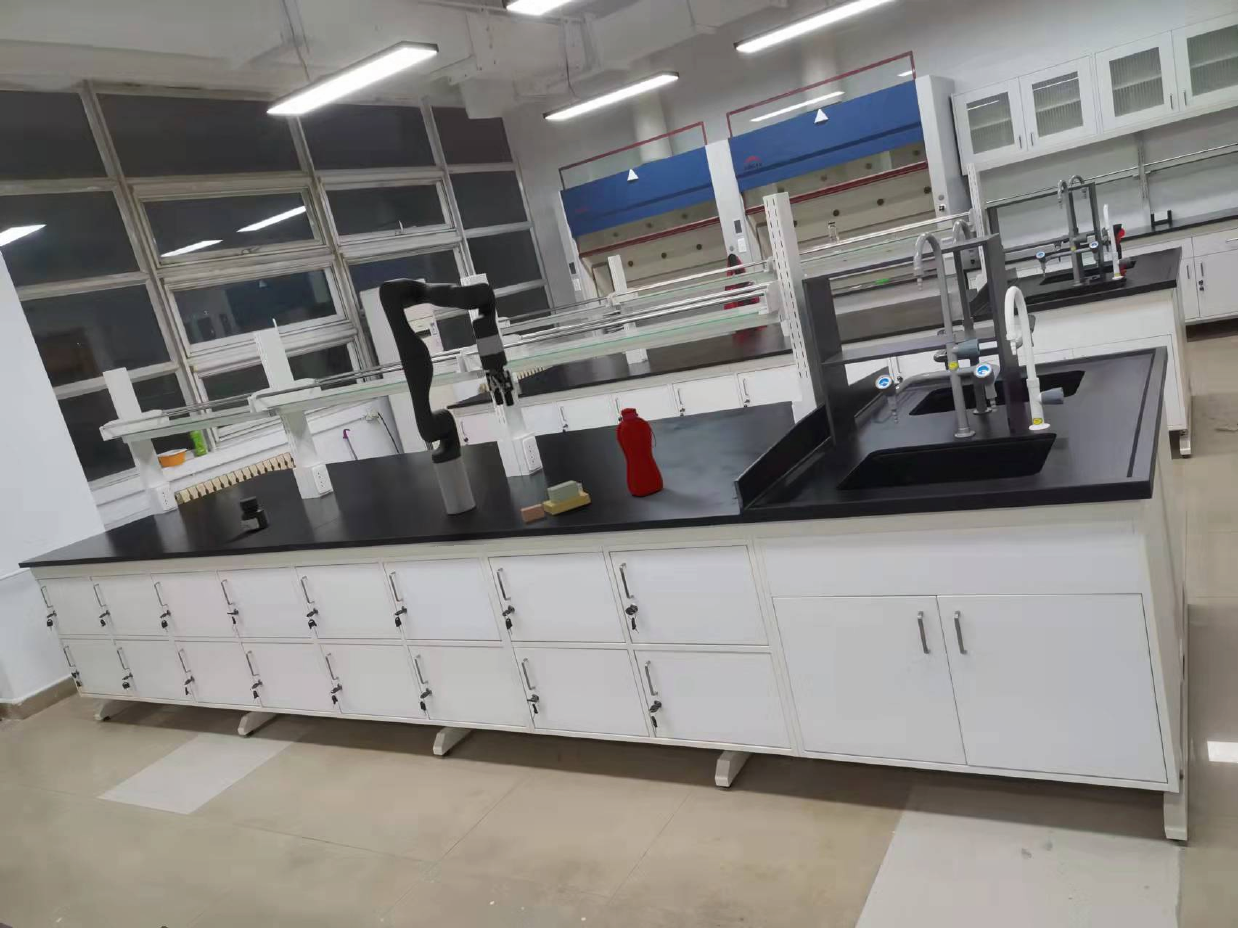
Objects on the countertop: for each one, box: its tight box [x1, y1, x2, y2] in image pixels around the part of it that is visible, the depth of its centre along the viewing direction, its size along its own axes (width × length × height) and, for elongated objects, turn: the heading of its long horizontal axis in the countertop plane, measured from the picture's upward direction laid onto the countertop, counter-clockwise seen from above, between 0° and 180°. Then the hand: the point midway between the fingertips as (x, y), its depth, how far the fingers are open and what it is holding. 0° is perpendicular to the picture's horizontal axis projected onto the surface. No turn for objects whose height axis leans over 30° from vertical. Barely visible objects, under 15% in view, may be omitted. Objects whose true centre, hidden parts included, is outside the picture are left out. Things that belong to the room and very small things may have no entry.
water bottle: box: [615, 407, 664, 497], centre depth 248 cm, size 9×11×25 cm
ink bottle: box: [238, 495, 270, 533], centre depth 326 cm, size 10×9×12 cm
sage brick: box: [546, 480, 580, 503], centre depth 254 cm, size 4×8×4 cm, turn 117°
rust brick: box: [520, 503, 546, 523], centre depth 250 cm, size 6×3×4 cm, turn 104°
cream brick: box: [577, 482, 584, 492], centre depth 266 cm, size 6×3×4 cm, turn 44°
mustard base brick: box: [541, 490, 591, 516], centre depth 255 cm, size 8×12×3 cm, turn 113°
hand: (505, 405), depth 257 cm, fingers open, 8 cm apart
